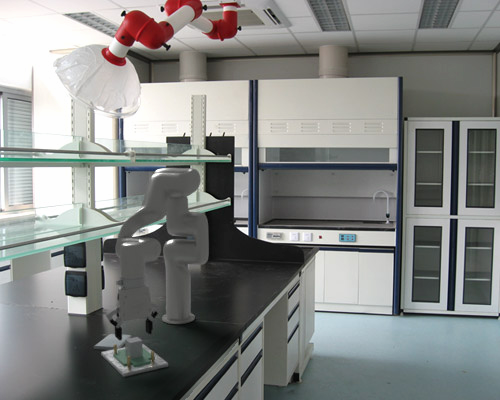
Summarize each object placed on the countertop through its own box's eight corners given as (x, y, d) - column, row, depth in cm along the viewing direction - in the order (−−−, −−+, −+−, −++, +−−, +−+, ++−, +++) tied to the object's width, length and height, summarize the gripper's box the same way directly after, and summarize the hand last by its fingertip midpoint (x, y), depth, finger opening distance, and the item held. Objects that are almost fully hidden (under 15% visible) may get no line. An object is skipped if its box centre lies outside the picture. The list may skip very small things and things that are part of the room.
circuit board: (110, 353, 165) (110, 336, 165) (140, 347, 171) (140, 330, 170) (126, 368, 154) (126, 350, 153) (158, 361, 159) (158, 343, 159)
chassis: (101, 355, 167) (101, 342, 167) (142, 346, 175) (142, 334, 174) (123, 376, 150) (123, 363, 150) (168, 366, 158) (168, 353, 158)
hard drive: (117, 347, 171) (131, 334, 183) (93, 345, 172) (109, 333, 184) (117, 352, 171) (131, 339, 183) (93, 350, 172) (109, 337, 184)
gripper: (109, 289, 153) (111, 345, 154) (164, 280, 162) (164, 334, 164) (101, 283, 159) (102, 337, 161) (154, 275, 168) (155, 327, 170)
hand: (134, 335), depth 162 cm, fingers open, 9 cm apart
